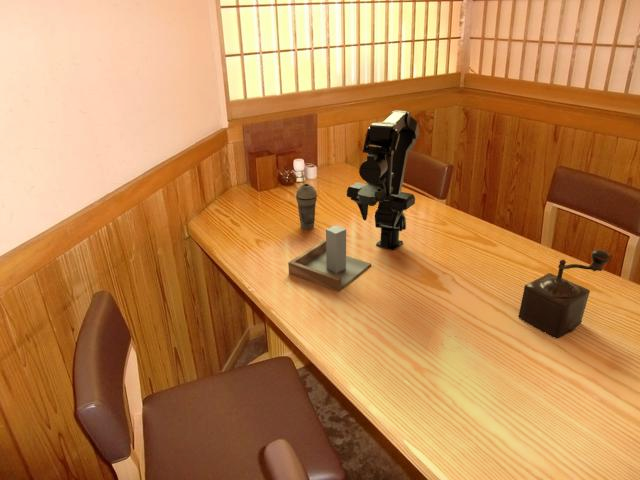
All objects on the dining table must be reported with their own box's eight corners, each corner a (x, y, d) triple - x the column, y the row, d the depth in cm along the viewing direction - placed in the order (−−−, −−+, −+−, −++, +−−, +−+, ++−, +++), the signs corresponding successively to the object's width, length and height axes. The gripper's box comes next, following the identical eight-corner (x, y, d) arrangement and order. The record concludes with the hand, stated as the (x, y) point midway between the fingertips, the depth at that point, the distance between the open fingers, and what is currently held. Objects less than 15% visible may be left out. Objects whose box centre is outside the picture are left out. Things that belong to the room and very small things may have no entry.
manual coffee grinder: (559, 341, 105) (577, 272, 97) (516, 317, 113) (530, 252, 105) (596, 317, 112) (616, 251, 104) (553, 296, 120) (569, 234, 112)
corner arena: (323, 250, 146) (323, 240, 145) (371, 265, 137) (371, 254, 135) (288, 273, 134) (288, 262, 132) (338, 291, 125) (338, 280, 123)
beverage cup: (315, 232, 158) (314, 176, 149) (294, 230, 159) (292, 174, 151) (319, 223, 164) (318, 169, 156) (299, 222, 166) (297, 168, 157)
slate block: (336, 263, 137) (336, 225, 132) (346, 268, 135) (346, 229, 129) (326, 268, 135) (325, 229, 129) (336, 273, 132) (335, 233, 127)
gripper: (335, 173, 124) (335, 226, 131) (398, 186, 114) (394, 242, 121) (357, 162, 132) (356, 213, 139) (418, 173, 122) (413, 227, 129)
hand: (378, 223), depth 132 cm, fingers open, 9 cm apart
